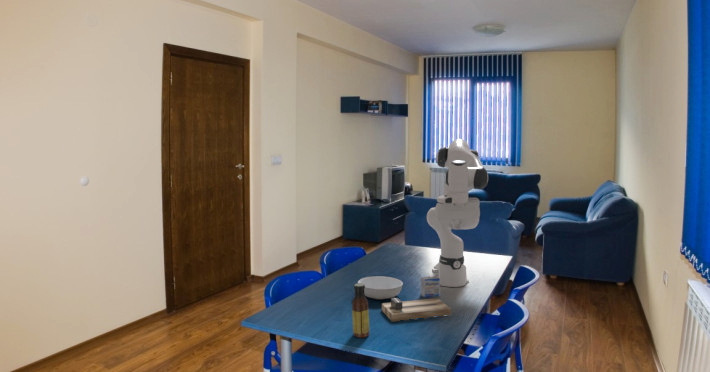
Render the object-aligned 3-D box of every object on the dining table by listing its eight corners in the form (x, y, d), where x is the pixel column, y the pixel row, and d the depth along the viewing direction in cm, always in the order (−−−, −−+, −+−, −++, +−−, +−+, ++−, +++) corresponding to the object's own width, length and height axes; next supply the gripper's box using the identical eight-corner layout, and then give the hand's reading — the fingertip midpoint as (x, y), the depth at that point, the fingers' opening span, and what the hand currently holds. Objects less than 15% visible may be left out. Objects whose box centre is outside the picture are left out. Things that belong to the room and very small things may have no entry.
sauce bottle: (368, 331, 200) (368, 281, 198) (369, 338, 194) (369, 286, 192) (351, 332, 200) (351, 282, 198) (352, 338, 194) (352, 287, 192)
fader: (390, 305, 221) (390, 298, 220) (397, 304, 221) (397, 297, 221) (395, 309, 215) (395, 302, 214) (402, 309, 215) (402, 302, 215)
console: (381, 310, 224) (381, 303, 224) (437, 304, 231) (437, 298, 230) (392, 321, 211) (392, 314, 210) (451, 315, 217) (451, 308, 217)
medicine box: (424, 297, 240) (424, 279, 239) (420, 294, 245) (420, 276, 244) (439, 296, 242) (440, 278, 242) (435, 293, 247) (436, 275, 246)
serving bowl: (399, 305, 230) (400, 290, 230) (353, 302, 235) (353, 287, 234) (404, 291, 251) (405, 277, 250) (362, 288, 255) (362, 274, 254)
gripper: (476, 196, 231) (475, 226, 233) (433, 197, 226) (433, 229, 227) (483, 198, 225) (482, 229, 226) (439, 199, 220) (438, 231, 221)
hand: (457, 229), depth 227 cm, fingers closed
